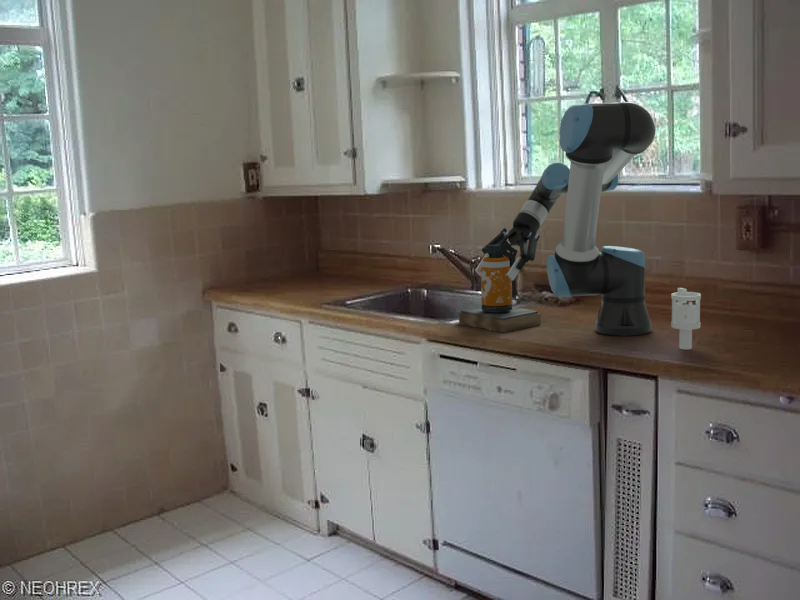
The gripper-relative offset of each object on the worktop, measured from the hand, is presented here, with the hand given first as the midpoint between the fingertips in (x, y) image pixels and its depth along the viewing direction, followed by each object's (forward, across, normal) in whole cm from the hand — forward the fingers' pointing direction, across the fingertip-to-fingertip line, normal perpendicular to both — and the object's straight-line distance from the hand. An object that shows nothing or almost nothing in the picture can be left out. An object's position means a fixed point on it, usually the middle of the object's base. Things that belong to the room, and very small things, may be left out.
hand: (493, 275), depth 269 cm
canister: (+6, 0, -9) cm, 11 cm away
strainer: (+2, -57, -20) cm, 60 cm away
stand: (+9, 0, -12) cm, 15 cm away
